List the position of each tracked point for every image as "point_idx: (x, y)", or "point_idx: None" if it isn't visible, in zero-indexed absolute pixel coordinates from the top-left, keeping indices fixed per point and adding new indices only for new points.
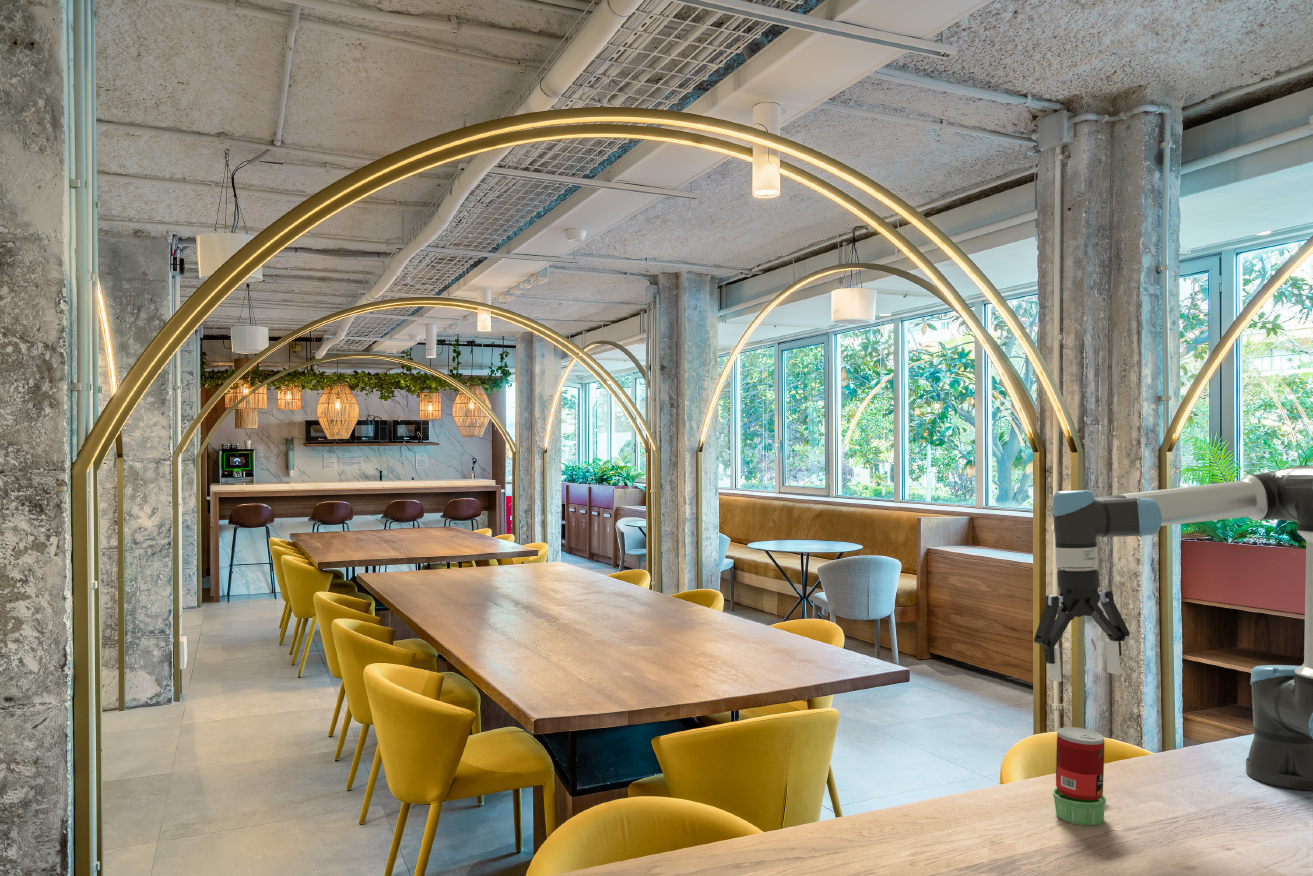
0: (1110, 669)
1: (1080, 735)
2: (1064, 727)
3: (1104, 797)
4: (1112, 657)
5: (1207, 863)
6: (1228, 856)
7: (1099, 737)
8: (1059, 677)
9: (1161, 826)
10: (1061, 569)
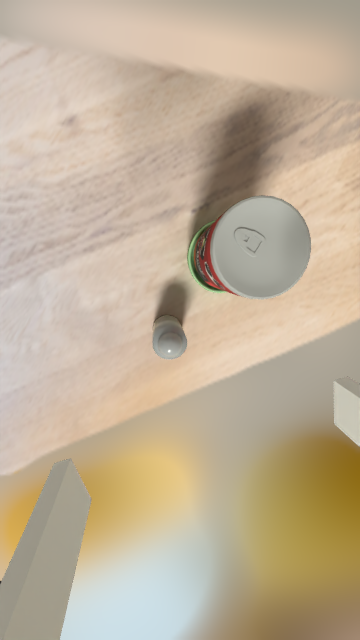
0: (80, 503)
1: (262, 248)
2: (276, 294)
3: (194, 241)
4: (50, 567)
5: (128, 68)
6: (84, 90)
7: (225, 232)
8: (355, 387)
9: (124, 217)
10: None
